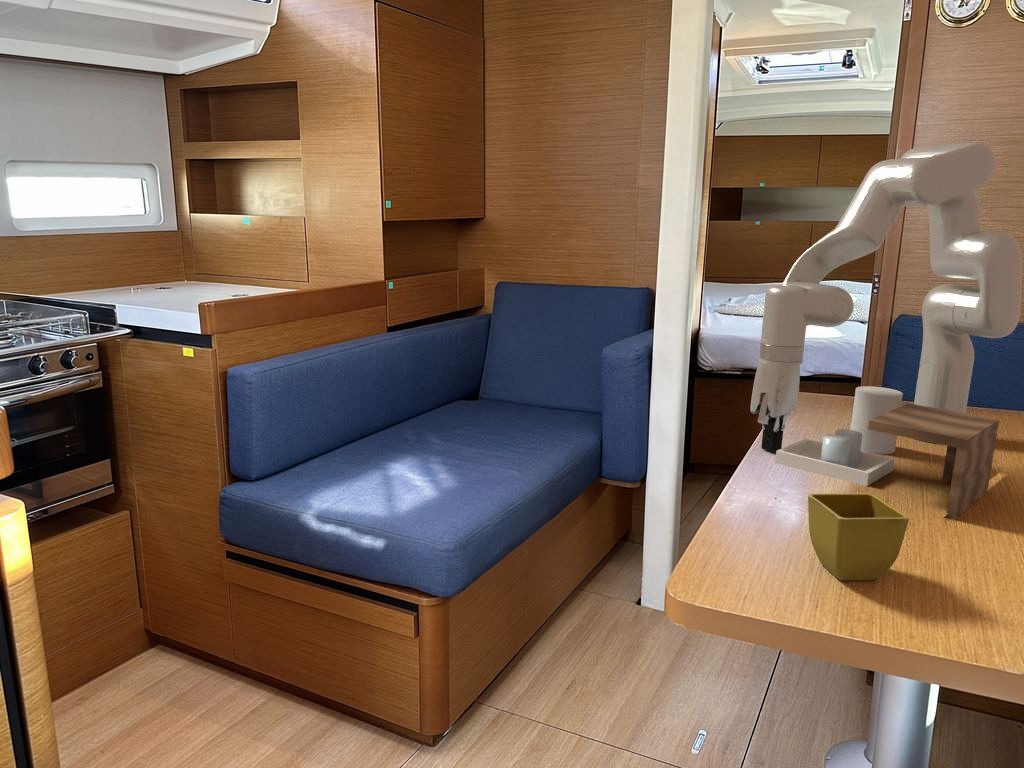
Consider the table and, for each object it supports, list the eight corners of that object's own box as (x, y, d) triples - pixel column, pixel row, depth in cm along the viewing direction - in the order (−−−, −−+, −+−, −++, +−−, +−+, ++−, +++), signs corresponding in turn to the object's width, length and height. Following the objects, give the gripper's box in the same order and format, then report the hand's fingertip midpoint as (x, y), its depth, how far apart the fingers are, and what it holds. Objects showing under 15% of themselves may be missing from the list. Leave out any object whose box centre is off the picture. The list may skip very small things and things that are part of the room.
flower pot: (798, 557, 100) (806, 492, 98) (862, 556, 101) (871, 492, 99) (831, 589, 92) (840, 518, 90) (901, 588, 92) (911, 518, 91)
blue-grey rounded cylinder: (825, 465, 136) (829, 432, 135) (850, 471, 133) (854, 438, 132) (815, 470, 133) (819, 437, 132) (840, 477, 130) (844, 443, 129)
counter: (898, 471, 137) (907, 403, 134) (987, 492, 127) (999, 419, 125) (859, 494, 124) (869, 420, 121) (954, 520, 115) (967, 439, 112)
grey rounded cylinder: (837, 459, 140) (841, 427, 139) (862, 465, 137) (866, 433, 136) (827, 464, 137) (831, 432, 136) (852, 470, 134) (856, 437, 133)
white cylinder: (899, 459, 144) (908, 397, 141) (853, 455, 145) (861, 394, 143) (887, 447, 152) (896, 388, 149) (844, 443, 153) (851, 385, 151)
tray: (803, 453, 146) (805, 438, 145) (892, 475, 135) (894, 458, 134) (774, 466, 137) (776, 450, 137) (866, 490, 126) (868, 473, 126)
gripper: (780, 346, 148) (771, 438, 151) (742, 355, 137) (732, 453, 141) (818, 352, 142) (808, 447, 146) (781, 361, 132) (771, 463, 136)
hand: (771, 449), depth 144 cm, fingers closed
